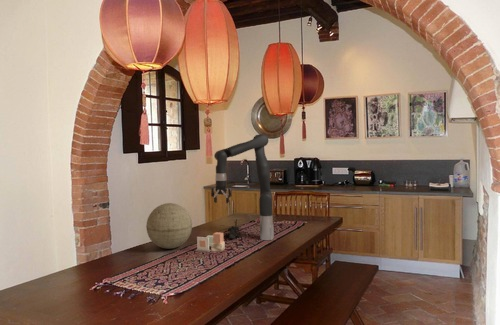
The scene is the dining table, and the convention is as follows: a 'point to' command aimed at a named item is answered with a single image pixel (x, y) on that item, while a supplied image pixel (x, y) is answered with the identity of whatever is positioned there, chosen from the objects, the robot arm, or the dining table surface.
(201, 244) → the board
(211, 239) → the sage block
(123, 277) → the dining table surface
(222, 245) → the beech base block
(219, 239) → the terracotta block
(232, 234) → the helicopter
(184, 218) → the celestial globe
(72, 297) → the dining table surface
